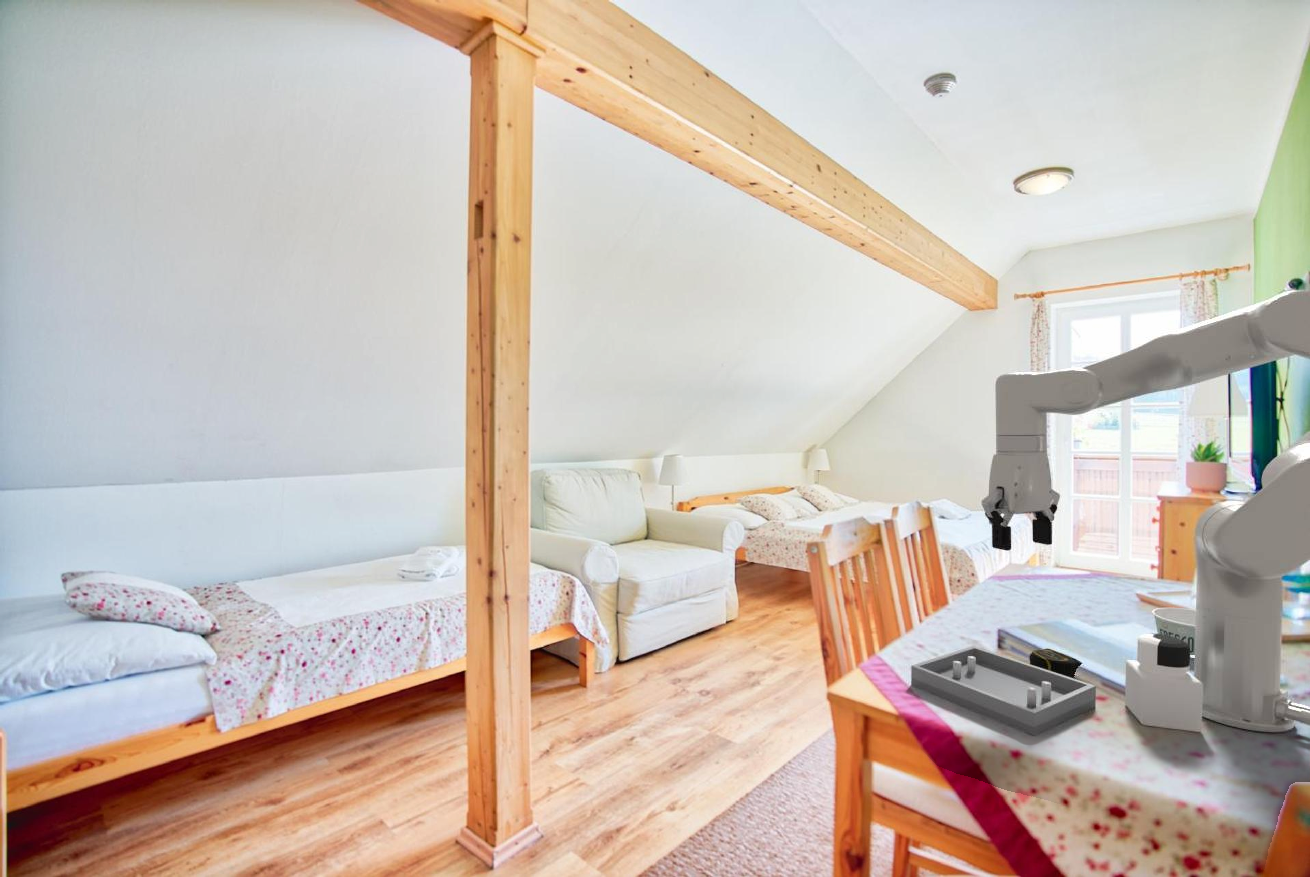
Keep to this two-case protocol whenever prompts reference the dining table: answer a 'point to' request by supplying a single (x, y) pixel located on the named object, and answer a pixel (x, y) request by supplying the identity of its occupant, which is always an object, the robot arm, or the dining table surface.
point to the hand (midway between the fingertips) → (1022, 546)
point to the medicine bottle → (1164, 684)
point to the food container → (1177, 624)
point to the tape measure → (1054, 662)
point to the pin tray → (1004, 688)
